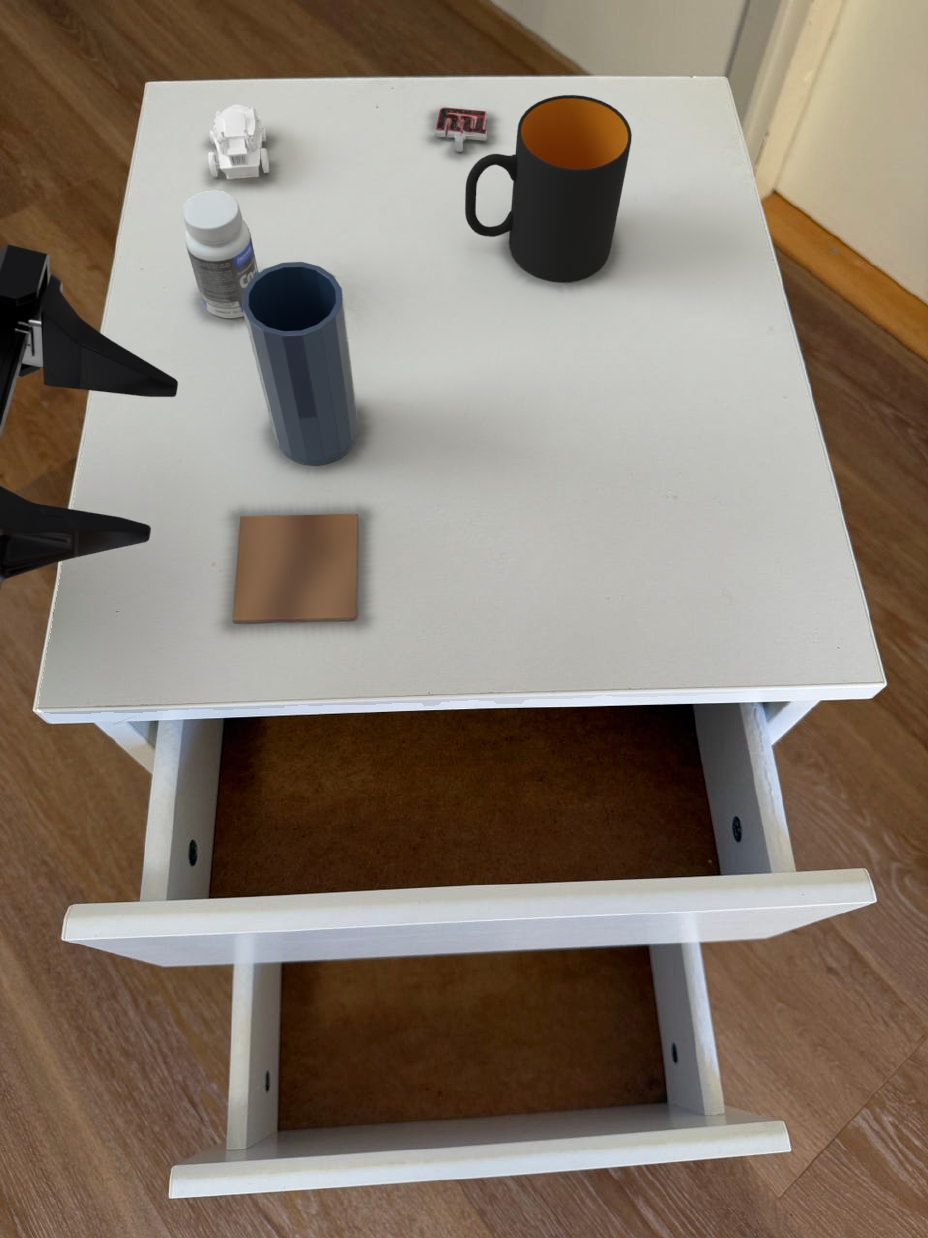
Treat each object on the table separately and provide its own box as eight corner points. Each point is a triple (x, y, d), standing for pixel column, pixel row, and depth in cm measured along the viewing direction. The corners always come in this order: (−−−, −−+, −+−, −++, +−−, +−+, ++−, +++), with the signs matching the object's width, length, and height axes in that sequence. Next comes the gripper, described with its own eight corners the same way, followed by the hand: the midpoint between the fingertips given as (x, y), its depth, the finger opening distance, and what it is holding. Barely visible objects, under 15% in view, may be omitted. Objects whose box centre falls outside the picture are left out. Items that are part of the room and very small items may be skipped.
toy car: (213, 191, 82) (202, 147, 78) (210, 127, 85) (200, 83, 82) (271, 186, 82) (263, 142, 78) (265, 123, 86) (258, 79, 82)
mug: (456, 217, 81) (458, 102, 72) (598, 205, 82) (618, 89, 73) (471, 291, 77) (475, 179, 68) (620, 277, 78) (643, 165, 69)
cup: (261, 452, 70) (226, 320, 58) (294, 390, 72) (265, 252, 61) (340, 474, 69) (320, 346, 58) (370, 410, 72) (356, 275, 60)
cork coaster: (233, 623, 64) (232, 620, 63) (241, 519, 67) (240, 515, 67) (356, 620, 64) (356, 617, 64) (357, 516, 68) (357, 513, 67)
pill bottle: (259, 321, 75) (239, 233, 68) (198, 319, 75) (171, 231, 68) (266, 275, 78) (248, 186, 70) (207, 273, 78) (181, 184, 70)
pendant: (490, 109, 86) (485, 143, 83) (490, 121, 87) (484, 154, 84) (439, 104, 86) (432, 137, 83) (439, 116, 87) (432, 149, 84)
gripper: (-304, 454, 35) (144, 535, 40) (-151, 112, 44) (205, 212, 48) (-225, 590, 45) (131, 644, 49) (-111, 288, 53) (184, 357, 58)
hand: (164, 458), depth 51 cm, fingers open, 9 cm apart
